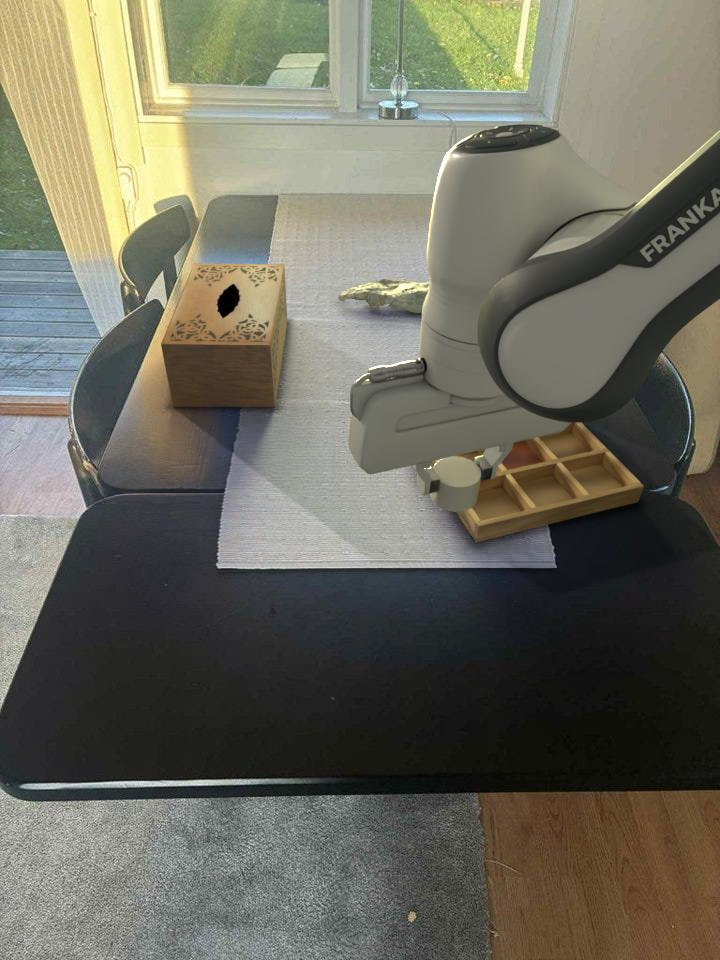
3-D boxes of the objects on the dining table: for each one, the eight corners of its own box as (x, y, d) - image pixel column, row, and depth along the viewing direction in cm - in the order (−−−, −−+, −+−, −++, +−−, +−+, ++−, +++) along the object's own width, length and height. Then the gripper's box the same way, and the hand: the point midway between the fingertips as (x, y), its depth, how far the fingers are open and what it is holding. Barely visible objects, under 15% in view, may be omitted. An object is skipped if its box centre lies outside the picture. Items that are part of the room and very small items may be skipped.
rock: (339, 302, 124) (339, 289, 122) (355, 278, 132) (355, 265, 131) (443, 316, 120) (445, 302, 119) (453, 290, 129) (455, 277, 127)
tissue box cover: (275, 407, 99) (270, 345, 93) (172, 406, 99) (160, 344, 92) (287, 320, 119) (284, 264, 112) (202, 319, 118) (194, 263, 112)
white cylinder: (485, 505, 64) (490, 481, 62) (442, 516, 63) (445, 491, 61) (464, 476, 67) (467, 452, 65) (422, 486, 66) (425, 461, 64)
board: (638, 502, 85) (644, 486, 83) (475, 542, 79) (478, 526, 78) (545, 404, 101) (548, 389, 99) (403, 432, 95) (404, 416, 93)
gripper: (365, 394, 50) (361, 531, 59) (606, 349, 56) (569, 480, 65) (337, 352, 55) (337, 485, 64) (562, 313, 60) (533, 441, 69)
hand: (456, 482), depth 64 cm, fingers closed on white cylinder, 4 cm apart
